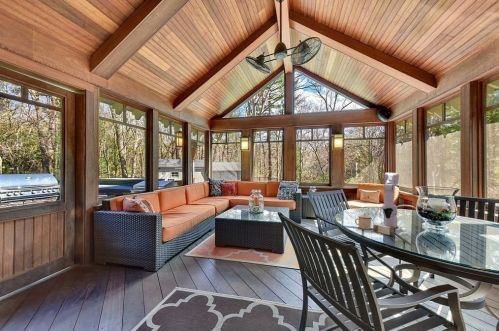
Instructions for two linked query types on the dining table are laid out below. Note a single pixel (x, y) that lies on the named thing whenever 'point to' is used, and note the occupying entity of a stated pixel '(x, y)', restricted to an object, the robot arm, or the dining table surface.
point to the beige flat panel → (383, 229)
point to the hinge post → (391, 230)
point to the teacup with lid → (364, 221)
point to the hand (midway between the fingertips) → (387, 218)
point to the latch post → (375, 228)
